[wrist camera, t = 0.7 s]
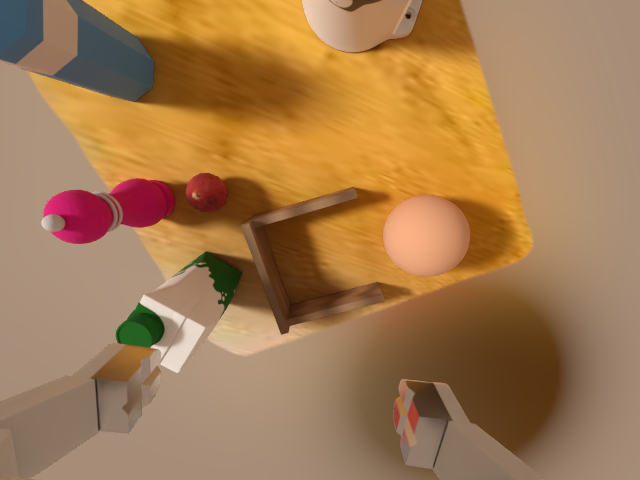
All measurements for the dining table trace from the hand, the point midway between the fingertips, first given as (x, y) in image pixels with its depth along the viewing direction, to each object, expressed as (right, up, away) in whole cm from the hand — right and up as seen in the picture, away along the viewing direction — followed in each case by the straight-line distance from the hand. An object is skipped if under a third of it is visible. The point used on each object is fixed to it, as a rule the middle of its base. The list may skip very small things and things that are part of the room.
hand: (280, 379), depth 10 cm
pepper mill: (-26, +11, +38) cm, 47 cm away
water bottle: (-28, +30, +33) cm, 53 cm away
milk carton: (-17, -2, +42) cm, 45 cm away
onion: (-16, +13, +38) cm, 43 cm away
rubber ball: (+17, +5, +33) cm, 38 cm away
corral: (+1, +3, +40) cm, 41 cm away
